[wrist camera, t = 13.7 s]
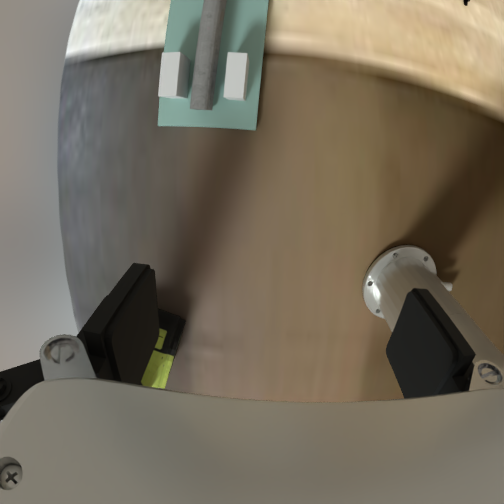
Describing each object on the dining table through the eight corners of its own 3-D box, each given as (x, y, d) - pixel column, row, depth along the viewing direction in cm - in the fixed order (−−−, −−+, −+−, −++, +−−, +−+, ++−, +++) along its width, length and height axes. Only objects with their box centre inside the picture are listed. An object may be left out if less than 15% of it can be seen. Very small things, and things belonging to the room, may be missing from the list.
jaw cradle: (275, -65, 24) (277, -88, 18) (255, 130, 36) (254, 131, 30) (187, -65, 24) (176, -87, 18) (161, 125, 36) (143, 127, 30)
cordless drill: (158, 246, 43) (73, 371, 20) (204, 263, 44) (154, 404, 21) (135, 355, 52) (87, 469, 30) (171, 368, 53) (135, 487, 30)
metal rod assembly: (216, 111, 34) (209, 110, 30) (193, 109, 34) (183, 108, 30) (241, -61, 24) (238, -79, 19) (220, -61, 24) (215, -79, 19)
